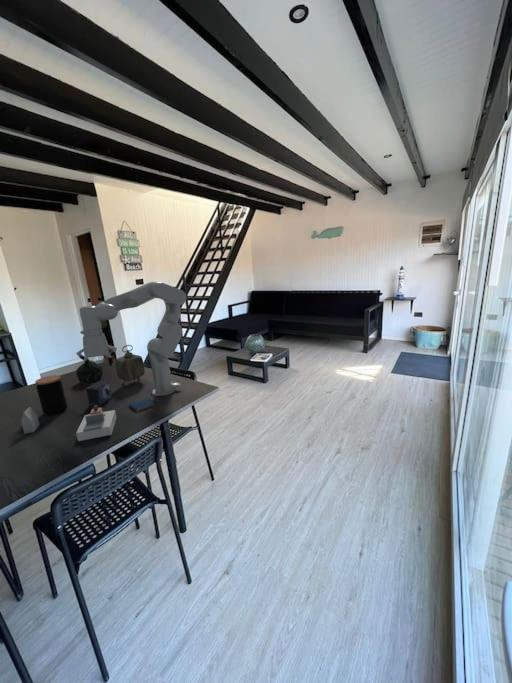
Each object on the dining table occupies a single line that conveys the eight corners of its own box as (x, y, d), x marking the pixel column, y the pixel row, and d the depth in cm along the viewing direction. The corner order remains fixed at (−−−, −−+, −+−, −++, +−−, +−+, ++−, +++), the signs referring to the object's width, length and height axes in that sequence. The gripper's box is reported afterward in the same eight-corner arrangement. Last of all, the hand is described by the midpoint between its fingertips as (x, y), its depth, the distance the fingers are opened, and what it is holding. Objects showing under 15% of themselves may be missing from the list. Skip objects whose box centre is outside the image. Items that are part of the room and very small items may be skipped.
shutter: (104, 420, 131) (103, 412, 130) (101, 428, 125) (100, 420, 124) (87, 423, 129) (85, 415, 128) (83, 431, 123) (81, 423, 122)
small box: (99, 407, 154) (95, 388, 151) (88, 406, 155) (84, 388, 152) (112, 398, 164) (109, 380, 161) (102, 397, 165) (99, 380, 162)
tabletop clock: (139, 378, 191) (133, 341, 185) (148, 381, 186) (142, 343, 180) (118, 386, 180) (111, 347, 174) (127, 389, 175) (120, 349, 168)
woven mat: (156, 406, 153) (156, 402, 152) (136, 413, 146) (136, 410, 145) (147, 400, 160) (147, 396, 160) (128, 407, 153) (127, 403, 152)
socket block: (116, 417, 142) (115, 409, 141) (111, 434, 127) (109, 426, 126) (86, 422, 138) (85, 415, 137) (78, 441, 124) (76, 432, 123)
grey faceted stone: (39, 424, 139) (34, 405, 137) (34, 431, 133) (28, 412, 130) (30, 426, 138) (25, 407, 135) (24, 433, 132) (18, 413, 129)
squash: (90, 367, 200) (76, 356, 188) (110, 368, 198) (98, 357, 186) (81, 386, 193) (67, 376, 180) (102, 388, 191) (89, 377, 178)
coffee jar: (72, 407, 155) (65, 375, 150) (53, 417, 145) (45, 384, 140) (58, 405, 158) (50, 374, 154) (38, 415, 149) (29, 382, 144)
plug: (103, 427, 134) (99, 407, 131) (93, 428, 133) (89, 408, 130) (104, 422, 138) (100, 403, 135) (95, 424, 137) (91, 405, 134)
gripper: (70, 336, 132) (78, 371, 136) (112, 331, 136) (118, 366, 141) (74, 332, 139) (82, 366, 143) (114, 328, 143) (120, 361, 148)
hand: (100, 366), depth 142 cm, fingers open, 9 cm apart
